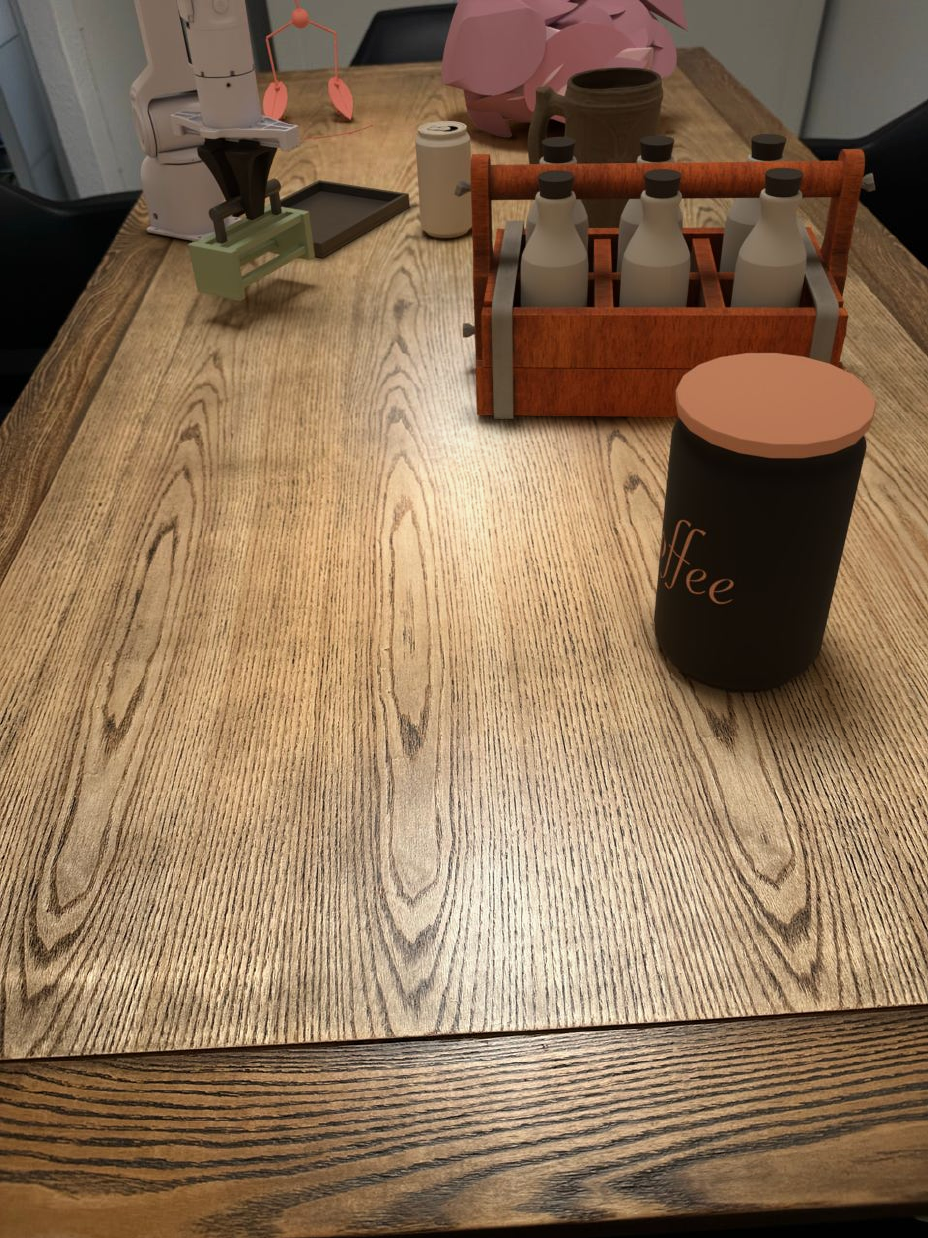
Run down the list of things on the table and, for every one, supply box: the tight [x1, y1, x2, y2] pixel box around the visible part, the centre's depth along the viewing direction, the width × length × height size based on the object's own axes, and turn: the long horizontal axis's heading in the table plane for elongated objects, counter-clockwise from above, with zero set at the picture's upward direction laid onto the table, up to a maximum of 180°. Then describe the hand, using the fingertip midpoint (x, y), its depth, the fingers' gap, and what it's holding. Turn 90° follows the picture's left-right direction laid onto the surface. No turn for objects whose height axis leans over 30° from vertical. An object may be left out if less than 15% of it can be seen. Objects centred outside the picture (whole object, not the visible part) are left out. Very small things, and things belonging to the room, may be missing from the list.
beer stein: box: [527, 67, 665, 228], centre depth 115 cm, size 15×11×20 cm
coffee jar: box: [653, 353, 877, 693], centre depth 64 cm, size 11×11×18 cm
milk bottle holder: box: [454, 133, 876, 420], centre depth 94 cm, size 21×35×19 cm, turn 85°
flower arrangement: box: [440, 0, 689, 138], centre depth 155 cm, size 35×24×28 cm
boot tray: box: [280, 179, 411, 259], centre depth 134 cm, size 14×19×2 cm
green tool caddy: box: [187, 178, 316, 302], centre depth 112 cm, size 6×13×8 cm, turn 150°
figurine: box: [262, 0, 374, 140], centre depth 157 cm, size 15×26×35 cm, turn 96°
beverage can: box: [414, 120, 472, 239], centre depth 127 cm, size 6×6×12 cm
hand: (248, 215), depth 110 cm, fingers closed on green tool caddy
